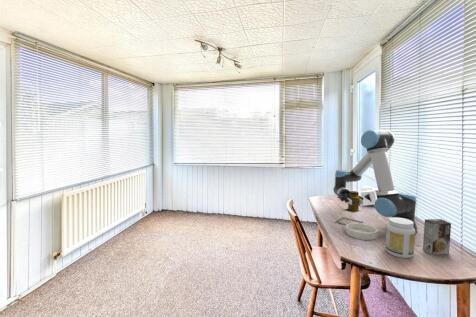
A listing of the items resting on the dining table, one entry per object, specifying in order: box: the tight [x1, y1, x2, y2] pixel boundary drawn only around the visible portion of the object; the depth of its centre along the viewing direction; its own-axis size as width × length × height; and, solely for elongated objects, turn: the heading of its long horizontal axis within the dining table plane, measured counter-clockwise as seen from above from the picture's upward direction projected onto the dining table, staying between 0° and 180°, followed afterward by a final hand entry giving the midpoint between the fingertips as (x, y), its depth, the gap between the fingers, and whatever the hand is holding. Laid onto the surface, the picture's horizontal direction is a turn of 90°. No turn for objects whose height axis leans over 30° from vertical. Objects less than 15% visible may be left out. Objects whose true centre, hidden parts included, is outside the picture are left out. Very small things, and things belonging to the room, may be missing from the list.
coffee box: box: [422, 218, 452, 255], centre depth 128 cm, size 9×6×16 cm
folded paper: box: [359, 184, 379, 207], centre depth 217 cm, size 17×24×17 cm
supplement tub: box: [385, 217, 416, 259], centre depth 126 cm, size 12×12×17 cm
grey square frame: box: [334, 216, 364, 226], centre depth 171 cm, size 14×14×1 cm
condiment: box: [343, 190, 362, 214], centre depth 159 cm, size 7×8×12 cm
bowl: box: [344, 222, 379, 241], centre depth 151 cm, size 17×17×4 cm
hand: (356, 202), depth 154 cm, fingers closed on condiment, 6 cm apart
